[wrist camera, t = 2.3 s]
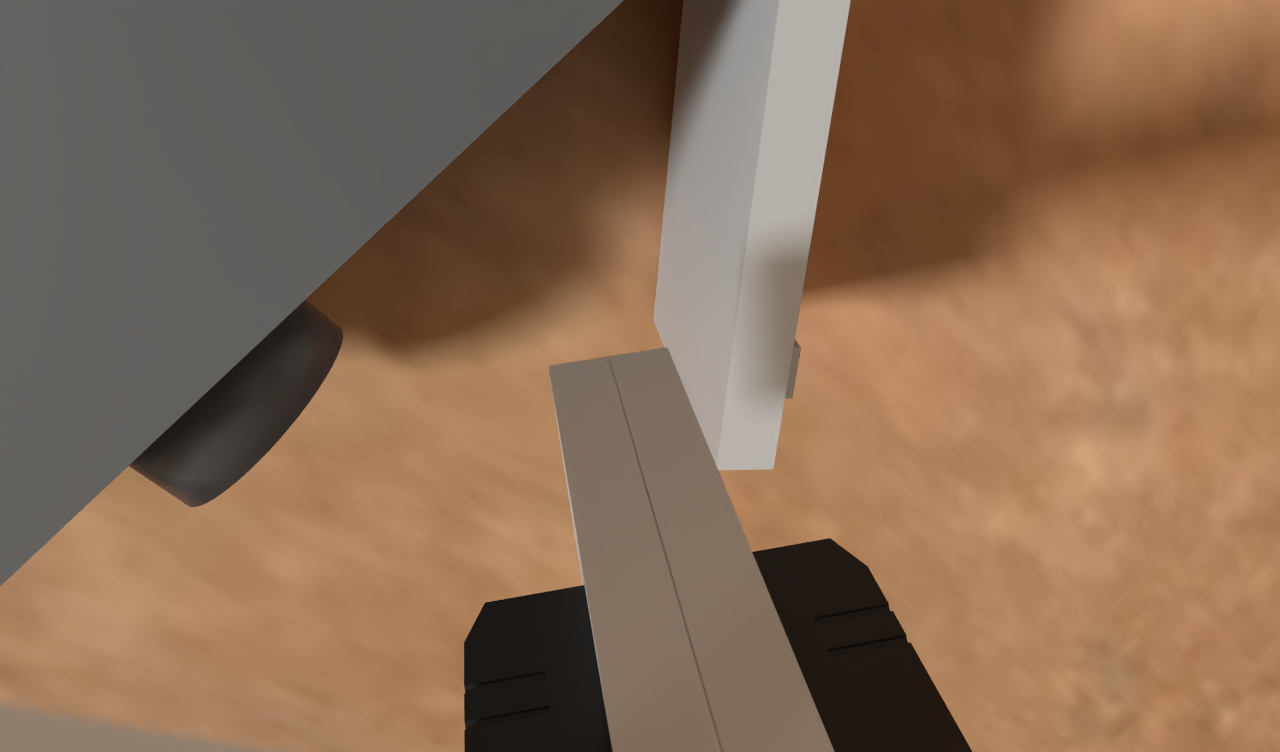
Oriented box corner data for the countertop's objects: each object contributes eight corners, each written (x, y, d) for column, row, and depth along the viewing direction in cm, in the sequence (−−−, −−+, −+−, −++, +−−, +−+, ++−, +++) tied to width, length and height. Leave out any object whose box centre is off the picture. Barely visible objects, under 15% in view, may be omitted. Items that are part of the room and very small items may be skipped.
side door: (651, 316, 22) (718, 476, 17) (696, -170, 18) (807, -171, 12) (721, 317, 23) (811, 474, 17) (783, -162, 18) (929, -160, 13)
